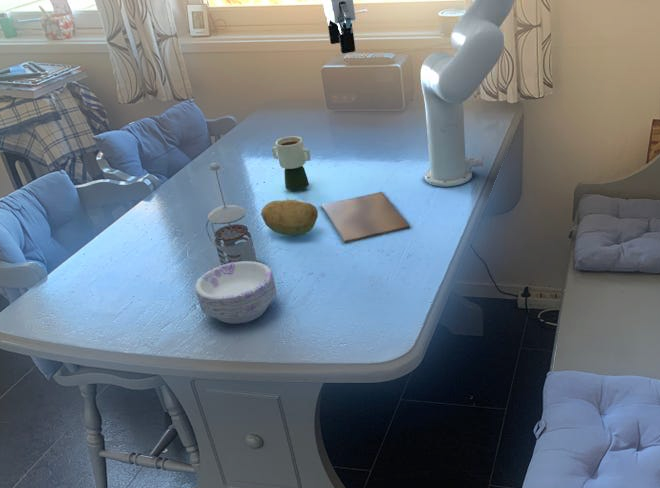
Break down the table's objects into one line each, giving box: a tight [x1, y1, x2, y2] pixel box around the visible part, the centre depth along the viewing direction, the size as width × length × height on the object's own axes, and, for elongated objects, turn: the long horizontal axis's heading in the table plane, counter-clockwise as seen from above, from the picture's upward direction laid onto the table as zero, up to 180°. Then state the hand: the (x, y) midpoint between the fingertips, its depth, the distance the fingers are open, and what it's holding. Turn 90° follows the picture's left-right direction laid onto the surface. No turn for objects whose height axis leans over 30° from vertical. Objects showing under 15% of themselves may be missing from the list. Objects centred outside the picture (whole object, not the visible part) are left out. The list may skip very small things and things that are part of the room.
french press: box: [205, 162, 258, 266], centre depth 161 cm, size 10×12×25 cm
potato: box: [260, 199, 319, 236], centre depth 179 cm, size 10×14×8 cm
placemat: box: [321, 191, 411, 244], centre depth 186 cm, size 16×22×1 cm
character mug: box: [271, 135, 312, 192], centre depth 199 cm, size 11×7×13 cm, turn 70°
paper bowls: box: [194, 261, 277, 325], centre depth 152 cm, size 15×15×8 cm
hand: (342, 47), depth 174 cm, fingers open, 9 cm apart
